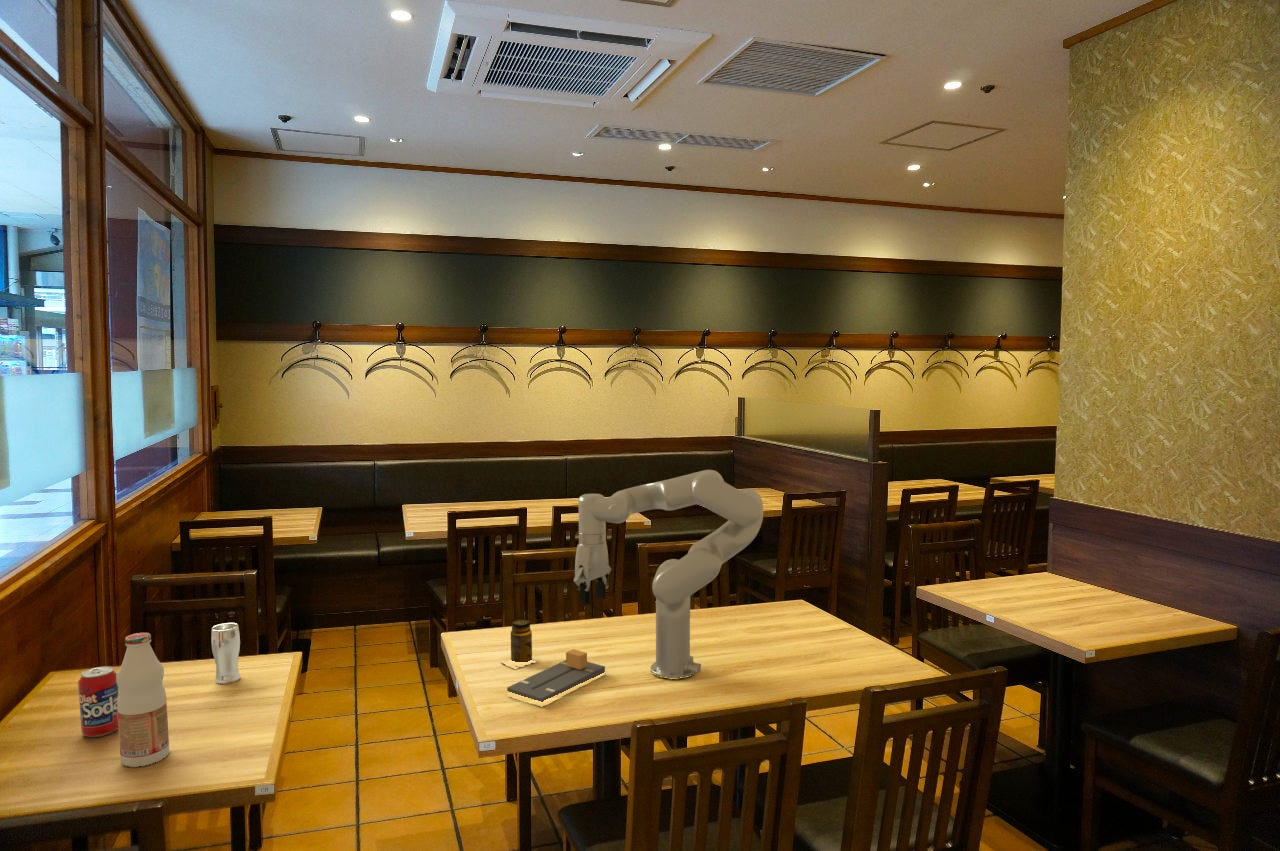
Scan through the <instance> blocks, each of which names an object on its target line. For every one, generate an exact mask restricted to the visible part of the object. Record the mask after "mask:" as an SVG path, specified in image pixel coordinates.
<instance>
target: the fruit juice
mask: <svg viewBox="0 0 1280 851" xmlns="http://www.w3.org/2000/svg"><path fill="white" fill-rule="evenodd" d="M151 642H152V635H151V633H149V632H136V633H133V634H129V635H127V636H126V637H125V638H124V643H125V646H126V651H125V653H124V657H123V659H122V664H121V665H120V667H119V668H118V670H117V672H116V673H117V675H116V683H117V686H118V690H119V695H118V699H117V712H118V727H119V728H118V739H119V740H118V741H119V755H120V762H121V764H122V765H123V766H124V765H125V767H127V766H129V768H140V767H139V766H142V767H146V766H145V765H147V766H149V764H150V765H154V764H156V763H158V762H161V761H162V760H163V758H164V759H165V758H166V757H167V756H168V754H169V752H170V737H169V723H168V722H169V721H168V705H167V701H168V700H167V692H166V689H165V686H164V685H163V681H164V676H165V670H164V666H163V664H162V662H160V660H159V659H158V657H157V656H156V654H155V652H154V650H153V648H152V646H151ZM155 762H156V763H155ZM153 763H154V764H153Z"/></svg>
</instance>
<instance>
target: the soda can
mask: <svg viewBox="0 0 1280 851" xmlns="http://www.w3.org/2000/svg"><path fill="white" fill-rule="evenodd" d="M80 675H81V676H80V677H79V679H78V681H77V685H78V686H77V687H78V688H77V689H78V699H79V702H78V703H79V713H80V714H79V715H80V727H81V734H82V735H83V736H86V737H89V738H99V737H100V738H101V737H106V736H108V735H110V734H112V733H114V732H115V731H116V730H119V727H118V712H117V699H118V695H119V688H118V686H117V683H116V675H117V672H116V671H115V669H114V667H113V666H110V665H109V666H108V665H104V666H97V667H91V668H89V669H86V670H84V671H82V672H81V674H80Z"/></svg>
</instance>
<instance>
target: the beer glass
mask: <svg viewBox="0 0 1280 851" xmlns="http://www.w3.org/2000/svg"><path fill="white" fill-rule="evenodd" d="M240 645H241V639H240V628H239V624H238V623H235V622H226V623H219V624H216V625H213V627H211V651H212V655H213V659H214V662H215V668H216V673H215V681H214V682H215V684H218V683H219V685H228V684H231V682H233V683H235V682H237V681H239V680H240V679H241V676H240V672H239V655H240V647H241V646H240ZM238 679H239V680H238ZM234 681H235V682H234ZM220 683H221V684H220ZM227 683H228V684H227Z"/></svg>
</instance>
